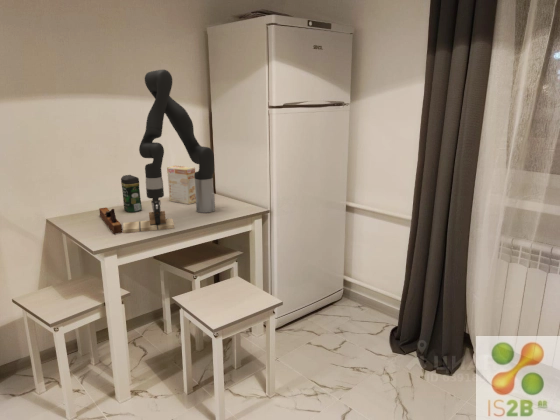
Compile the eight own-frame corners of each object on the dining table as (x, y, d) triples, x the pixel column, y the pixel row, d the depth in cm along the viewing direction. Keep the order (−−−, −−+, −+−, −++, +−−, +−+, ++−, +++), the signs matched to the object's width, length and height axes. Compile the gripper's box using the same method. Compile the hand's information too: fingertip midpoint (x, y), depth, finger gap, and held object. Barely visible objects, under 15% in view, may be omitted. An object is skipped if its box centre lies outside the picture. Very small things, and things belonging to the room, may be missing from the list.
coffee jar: (121, 209, 232) (118, 175, 227) (136, 207, 237) (133, 173, 232) (129, 213, 225) (125, 177, 220) (144, 210, 230) (140, 175, 225)
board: (172, 221, 211) (172, 218, 211) (174, 228, 201) (174, 225, 201) (123, 225, 205) (123, 222, 205) (123, 233, 195) (123, 229, 194)
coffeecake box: (197, 201, 247) (195, 167, 242) (188, 204, 241) (186, 169, 236) (178, 198, 255) (175, 165, 249) (169, 201, 249) (166, 167, 244)
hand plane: (126, 232, 197) (124, 211, 194) (114, 234, 194) (111, 213, 191) (107, 214, 224) (105, 195, 221) (96, 216, 221) (94, 197, 219)
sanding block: (165, 221, 207) (164, 210, 205) (166, 223, 203) (165, 213, 201) (149, 222, 205) (148, 212, 203) (150, 225, 201) (149, 214, 199)
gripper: (164, 189, 194) (167, 226, 198) (162, 183, 207) (164, 217, 211) (146, 190, 191) (149, 228, 196) (145, 184, 204) (148, 219, 209)
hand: (157, 222), depth 204 cm, fingers closed on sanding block, 4 cm apart
